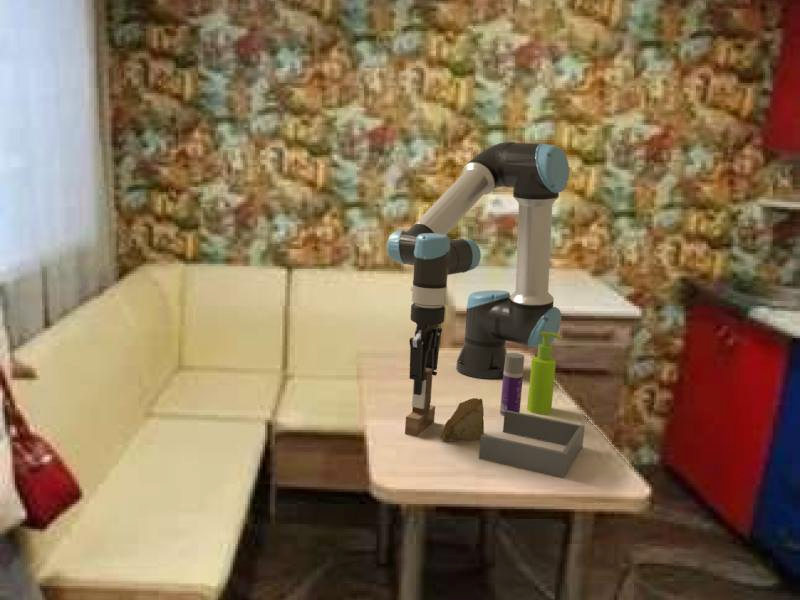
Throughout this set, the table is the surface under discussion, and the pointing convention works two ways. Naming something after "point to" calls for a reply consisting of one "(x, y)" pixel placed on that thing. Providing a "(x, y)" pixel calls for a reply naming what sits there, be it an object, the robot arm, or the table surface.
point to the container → (512, 383)
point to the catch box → (531, 454)
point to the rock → (465, 422)
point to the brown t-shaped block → (421, 411)
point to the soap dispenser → (542, 377)
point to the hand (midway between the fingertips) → (421, 404)
